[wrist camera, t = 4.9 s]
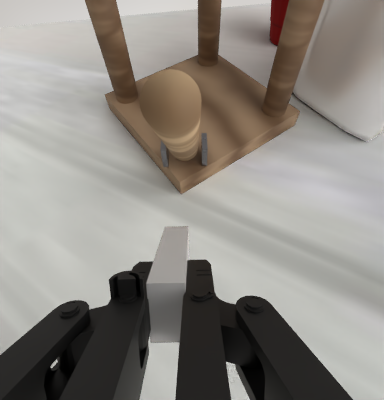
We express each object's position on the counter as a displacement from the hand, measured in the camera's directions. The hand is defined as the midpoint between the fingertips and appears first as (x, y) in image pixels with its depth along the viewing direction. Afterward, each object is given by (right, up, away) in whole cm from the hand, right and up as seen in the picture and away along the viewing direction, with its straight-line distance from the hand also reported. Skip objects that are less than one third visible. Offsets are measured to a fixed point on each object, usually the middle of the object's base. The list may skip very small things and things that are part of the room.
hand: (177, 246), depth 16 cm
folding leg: (0, +9, +13) cm, 16 cm away
